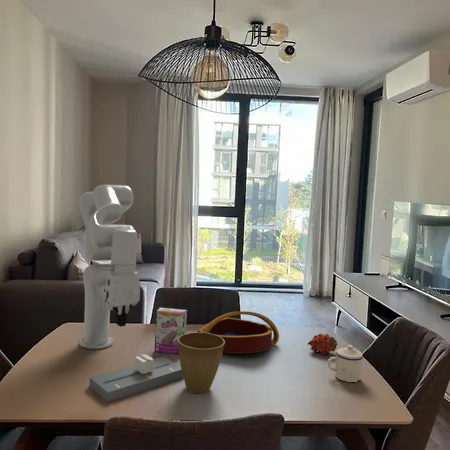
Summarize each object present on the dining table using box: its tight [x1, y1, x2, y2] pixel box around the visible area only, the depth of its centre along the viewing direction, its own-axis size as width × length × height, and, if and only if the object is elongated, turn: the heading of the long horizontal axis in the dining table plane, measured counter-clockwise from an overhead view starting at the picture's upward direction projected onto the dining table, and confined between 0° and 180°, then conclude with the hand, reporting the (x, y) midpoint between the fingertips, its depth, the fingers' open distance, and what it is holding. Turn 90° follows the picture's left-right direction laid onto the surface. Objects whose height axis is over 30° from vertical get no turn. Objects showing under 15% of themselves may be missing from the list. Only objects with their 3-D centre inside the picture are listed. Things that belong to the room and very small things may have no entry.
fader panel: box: [88, 356, 184, 403], centre depth 139 cm, size 12×28×3 cm, turn 133°
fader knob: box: [134, 353, 155, 374], centre depth 140 cm, size 5×4×4 cm
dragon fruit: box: [307, 333, 338, 355], centre depth 173 cm, size 8×8×12 cm
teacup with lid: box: [327, 344, 364, 382], centre depth 150 cm, size 12×9×12 cm
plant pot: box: [178, 331, 225, 395], centre depth 136 cm, size 15×15×16 cm
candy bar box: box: [154, 307, 188, 355], centre depth 165 cm, size 11×5×16 cm, turn 84°
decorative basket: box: [197, 310, 280, 354], centre depth 175 cm, size 34×29×15 cm
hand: (120, 325), depth 135 cm, fingers closed
